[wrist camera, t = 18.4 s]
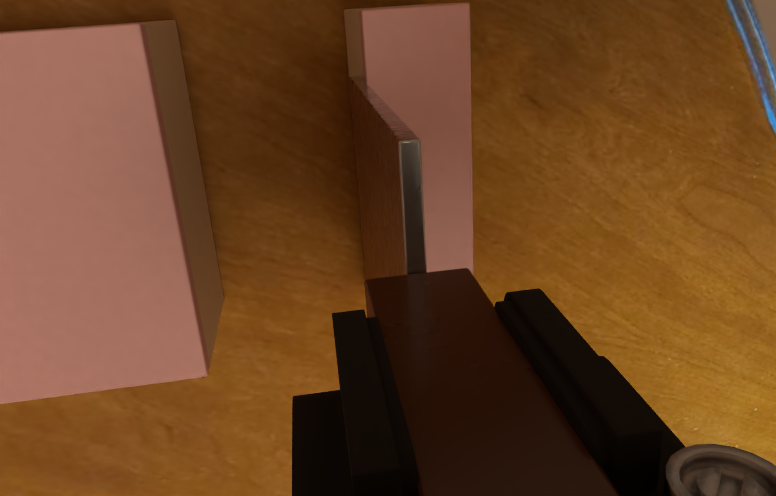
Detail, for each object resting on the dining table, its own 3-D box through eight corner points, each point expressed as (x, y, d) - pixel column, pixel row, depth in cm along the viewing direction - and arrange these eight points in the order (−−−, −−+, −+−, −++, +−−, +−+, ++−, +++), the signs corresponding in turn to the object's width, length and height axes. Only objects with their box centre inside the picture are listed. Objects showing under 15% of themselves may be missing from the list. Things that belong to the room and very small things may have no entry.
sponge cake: (-103, 38, 23) (-240, 49, 17) (175, 19, 25) (139, 22, 19) (-9, 327, 28) (-92, 417, 22) (224, 299, 29) (207, 377, 23)
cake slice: (343, 9, 25) (361, 9, 19) (426, 3, 26) (470, 2, 20) (365, 283, 30) (386, 354, 24) (437, 275, 30) (475, 343, 24)
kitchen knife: (324, 78, 21) (436, 346, 4) (384, 73, 21) (704, 312, 5) (345, 296, 24) (462, 952, 7) (398, 290, 24) (626, 915, 8)
